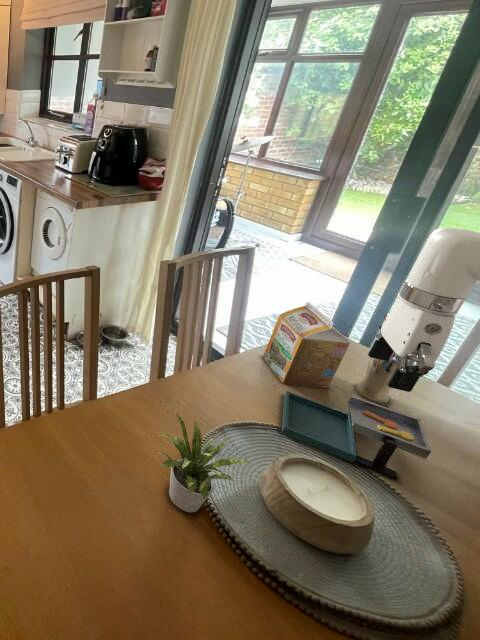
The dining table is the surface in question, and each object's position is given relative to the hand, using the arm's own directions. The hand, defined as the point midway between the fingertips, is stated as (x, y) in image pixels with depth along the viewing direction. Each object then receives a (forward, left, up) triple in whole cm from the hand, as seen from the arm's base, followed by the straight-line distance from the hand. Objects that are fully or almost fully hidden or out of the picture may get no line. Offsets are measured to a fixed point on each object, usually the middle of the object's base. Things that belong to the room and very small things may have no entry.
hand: (387, 372), depth 80 cm
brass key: (-6, -1, -14) cm, 15 cm away
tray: (+5, -2, -20) cm, 21 cm away
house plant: (+27, +35, -20) cm, 48 cm away
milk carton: (+10, -22, -20) cm, 32 cm away
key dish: (-4, -2, -14) cm, 15 cm away
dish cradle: (-4, -2, -20) cm, 21 cm away
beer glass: (-6, -24, -20) cm, 32 cm away
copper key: (-4, -4, -14) cm, 15 cm away
